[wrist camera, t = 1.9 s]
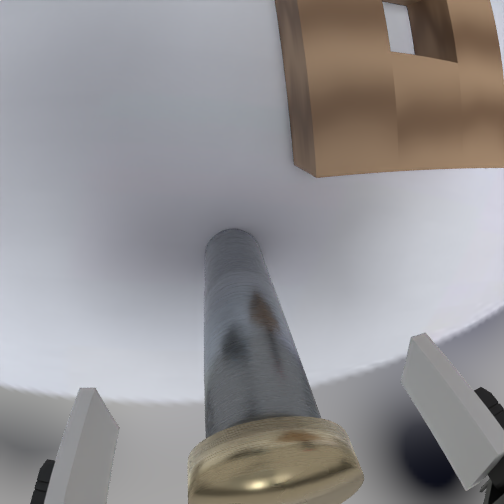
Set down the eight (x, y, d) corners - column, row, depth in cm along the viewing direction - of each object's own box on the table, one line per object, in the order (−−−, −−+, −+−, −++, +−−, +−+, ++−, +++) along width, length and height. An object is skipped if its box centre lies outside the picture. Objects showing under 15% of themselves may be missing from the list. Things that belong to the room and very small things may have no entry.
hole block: (260, -79, 13) (272, -113, 9) (436, -46, 14) (469, -62, 10) (294, 164, 21) (316, 177, 17) (465, 156, 22) (505, 167, 18)
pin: (191, 227, 22) (163, 479, 6) (264, 216, 23) (378, 442, 6) (203, 291, 24) (209, 532, 8) (271, 280, 25) (351, 507, 8)
